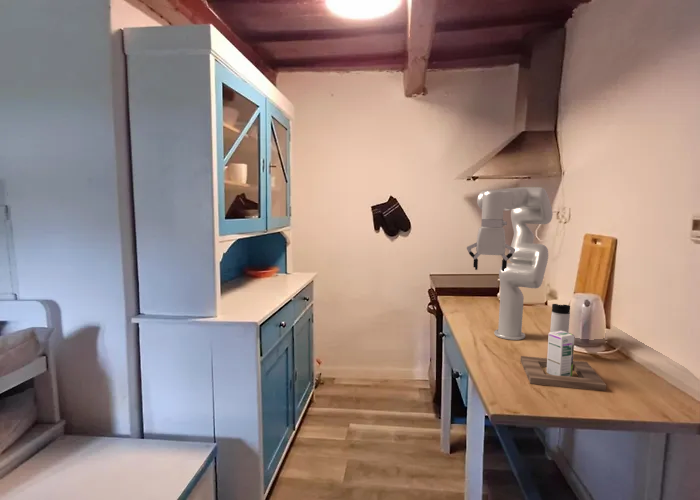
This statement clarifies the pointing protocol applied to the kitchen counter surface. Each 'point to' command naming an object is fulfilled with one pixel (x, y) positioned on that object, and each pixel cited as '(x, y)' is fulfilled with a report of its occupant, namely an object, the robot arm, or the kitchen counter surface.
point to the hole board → (583, 370)
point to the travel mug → (560, 318)
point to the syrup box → (560, 353)
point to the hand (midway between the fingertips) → (489, 270)
